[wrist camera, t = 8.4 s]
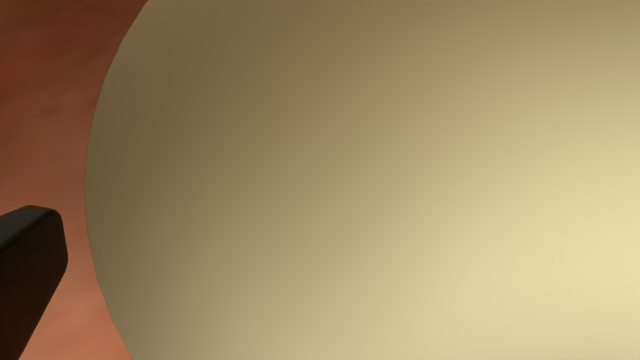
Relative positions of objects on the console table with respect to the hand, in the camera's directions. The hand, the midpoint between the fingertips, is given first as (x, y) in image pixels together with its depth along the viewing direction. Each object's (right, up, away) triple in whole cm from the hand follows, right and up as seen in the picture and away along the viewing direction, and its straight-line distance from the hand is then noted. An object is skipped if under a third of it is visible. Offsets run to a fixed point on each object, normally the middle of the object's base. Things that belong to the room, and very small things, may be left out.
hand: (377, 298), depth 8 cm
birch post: (+1, -1, +9) cm, 9 cm away
